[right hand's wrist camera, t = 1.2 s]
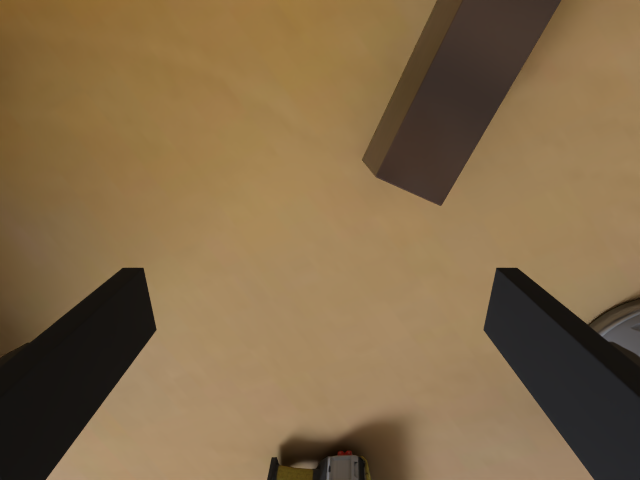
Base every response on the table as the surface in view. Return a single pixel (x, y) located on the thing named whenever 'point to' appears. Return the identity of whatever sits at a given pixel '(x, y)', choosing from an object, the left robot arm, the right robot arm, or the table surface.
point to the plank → (453, 90)
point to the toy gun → (324, 469)
